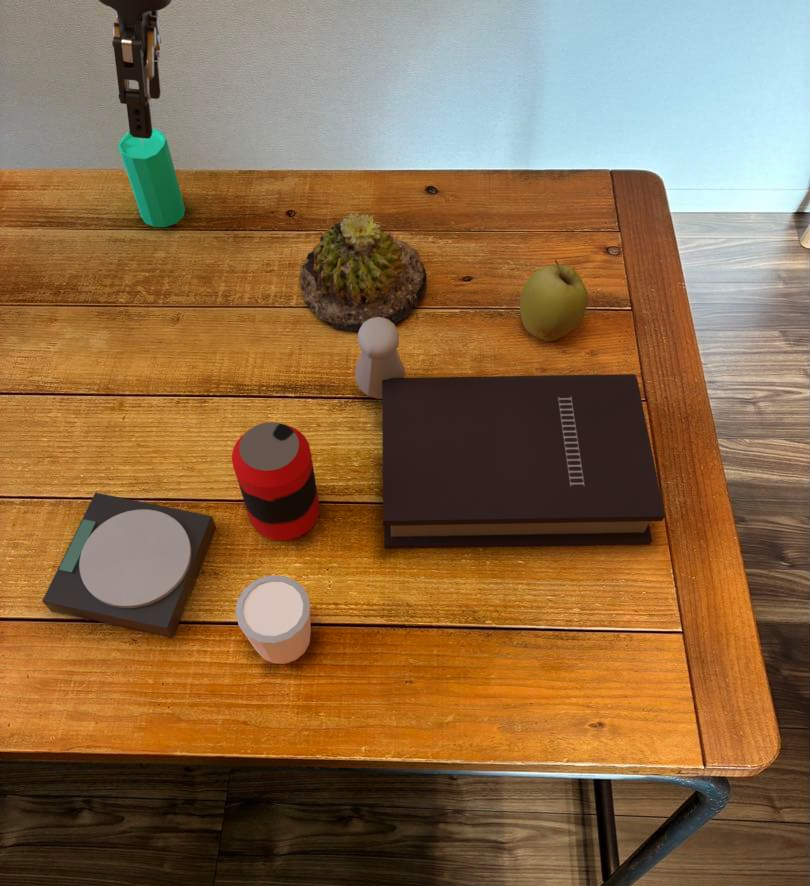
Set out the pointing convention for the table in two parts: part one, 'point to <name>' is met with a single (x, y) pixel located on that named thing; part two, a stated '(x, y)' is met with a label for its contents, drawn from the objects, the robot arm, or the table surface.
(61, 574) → the kitchen scale
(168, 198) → the candle
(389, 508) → the book
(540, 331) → the apple
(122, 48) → the robot arm
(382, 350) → the salt shaker
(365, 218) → the cactus
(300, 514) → the soda can
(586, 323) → the table surface
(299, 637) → the yogurt cup
